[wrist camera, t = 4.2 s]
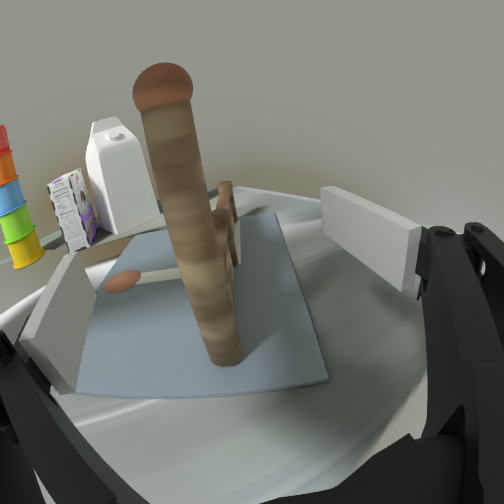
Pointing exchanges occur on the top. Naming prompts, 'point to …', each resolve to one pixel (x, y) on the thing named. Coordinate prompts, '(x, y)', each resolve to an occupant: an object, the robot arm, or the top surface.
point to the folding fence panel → (189, 207)
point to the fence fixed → (226, 215)
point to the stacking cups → (15, 212)
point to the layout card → (186, 329)
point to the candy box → (73, 210)
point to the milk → (119, 177)
